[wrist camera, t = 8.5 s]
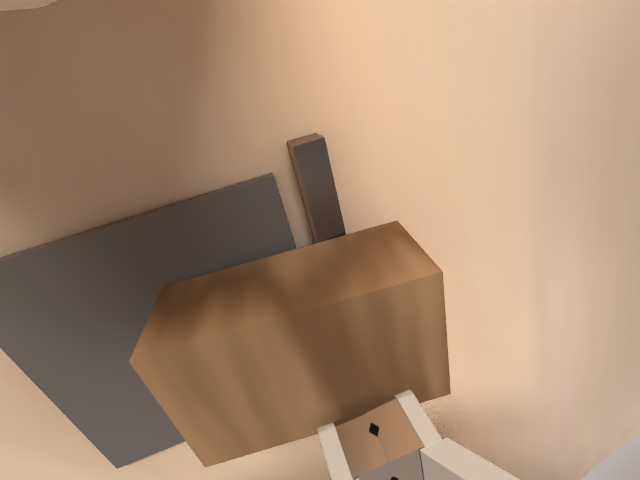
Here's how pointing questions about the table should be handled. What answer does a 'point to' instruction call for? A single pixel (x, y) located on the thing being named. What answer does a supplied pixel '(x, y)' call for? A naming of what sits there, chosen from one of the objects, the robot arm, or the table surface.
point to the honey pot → (23, 4)
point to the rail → (317, 186)
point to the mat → (124, 305)
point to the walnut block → (295, 341)
